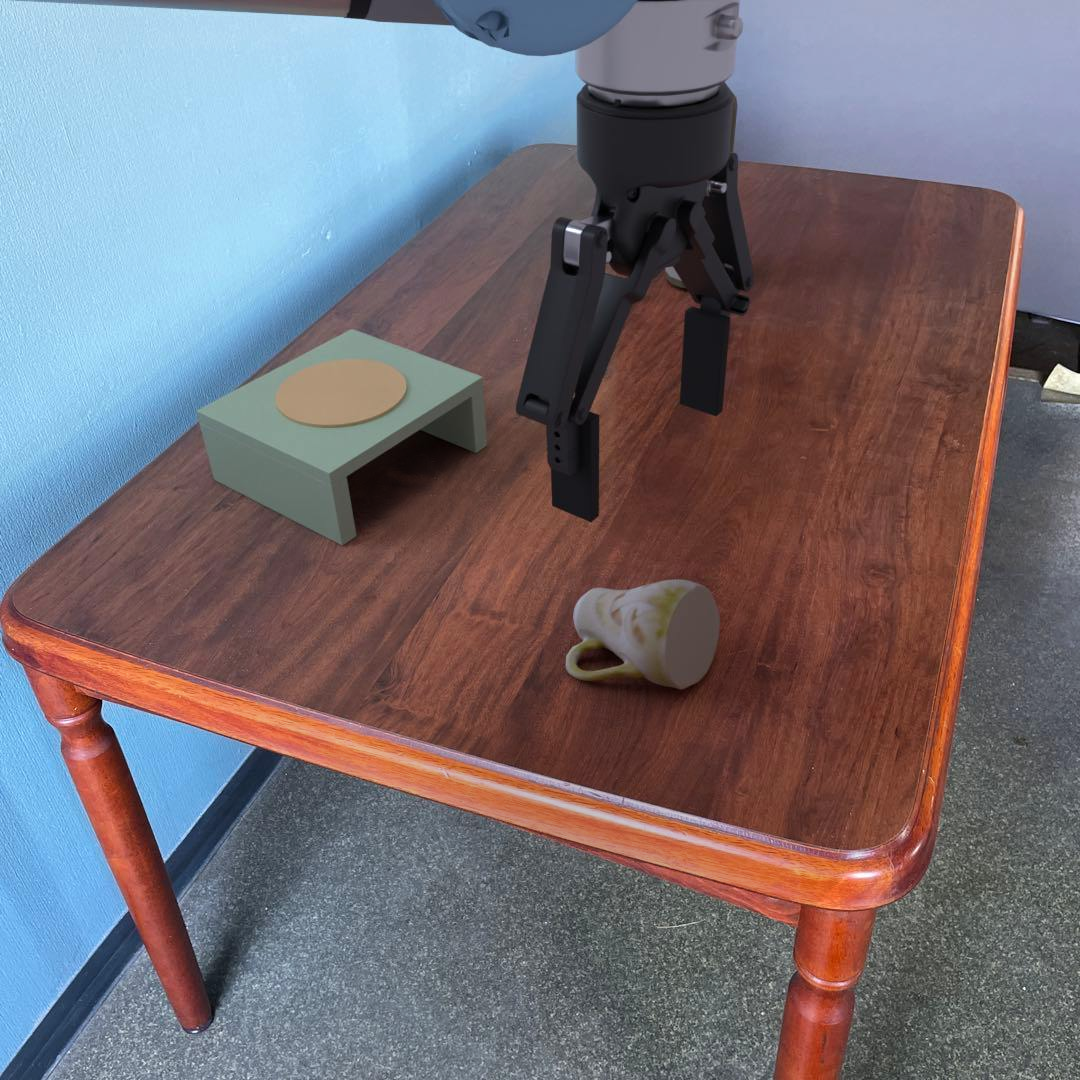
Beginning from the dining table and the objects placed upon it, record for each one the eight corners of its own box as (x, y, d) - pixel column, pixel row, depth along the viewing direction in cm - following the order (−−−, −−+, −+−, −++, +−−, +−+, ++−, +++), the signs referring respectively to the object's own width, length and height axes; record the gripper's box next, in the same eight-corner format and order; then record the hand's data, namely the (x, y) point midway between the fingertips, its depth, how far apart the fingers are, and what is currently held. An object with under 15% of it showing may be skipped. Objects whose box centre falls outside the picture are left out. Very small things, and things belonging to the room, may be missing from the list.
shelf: (214, 479, 93) (195, 407, 89) (361, 394, 104) (351, 325, 100) (342, 546, 85) (328, 469, 81) (487, 445, 96) (482, 373, 92)
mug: (595, 601, 80) (668, 516, 73) (681, 703, 77) (765, 624, 71) (531, 635, 74) (604, 546, 68) (621, 746, 72) (705, 665, 65)
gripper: (562, 173, 42) (569, 589, 55) (842, 37, 57) (795, 387, 70) (419, 140, 45) (458, 537, 58) (718, 21, 61) (696, 356, 74)
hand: (642, 456), depth 64 cm, fingers open, 13 cm apart
